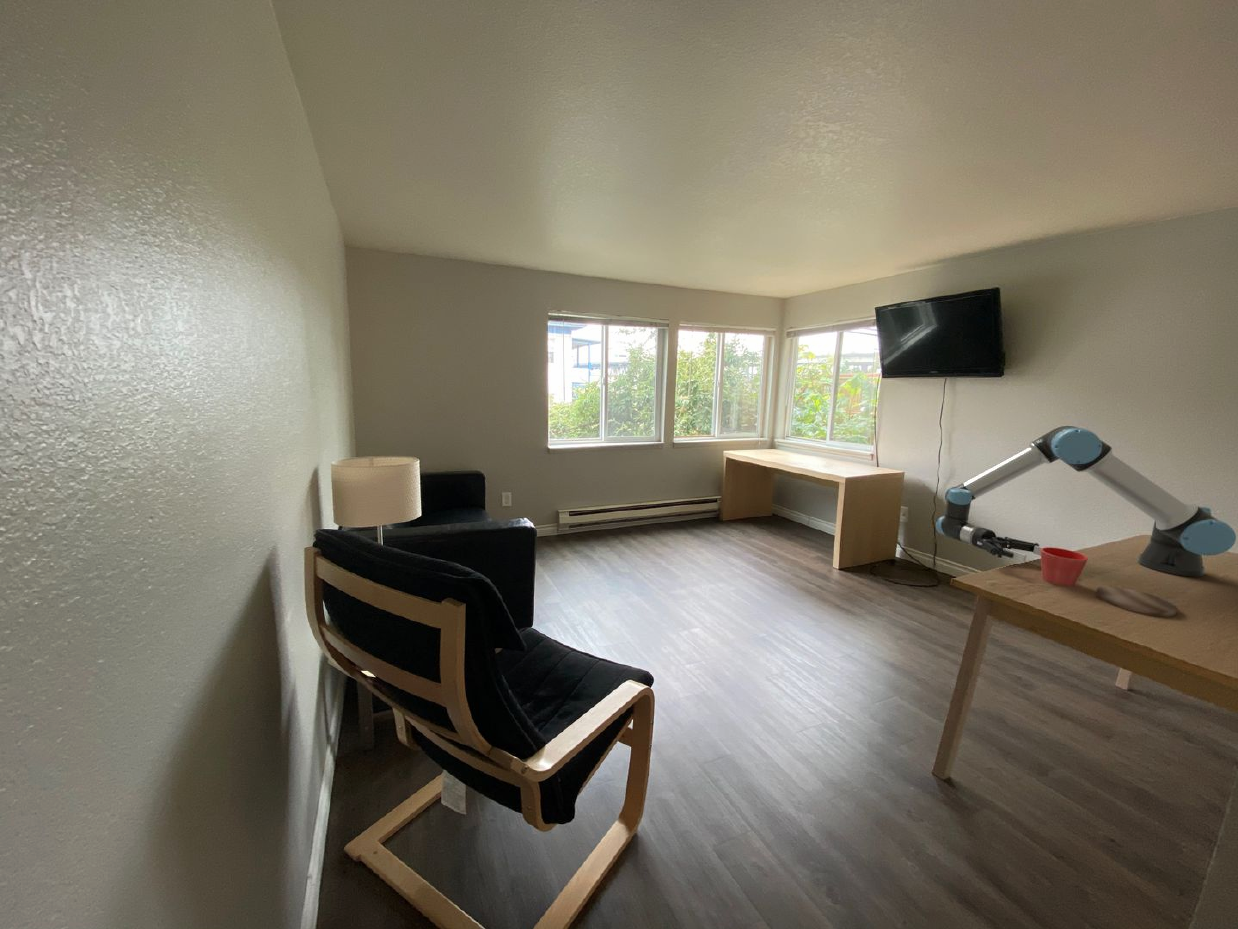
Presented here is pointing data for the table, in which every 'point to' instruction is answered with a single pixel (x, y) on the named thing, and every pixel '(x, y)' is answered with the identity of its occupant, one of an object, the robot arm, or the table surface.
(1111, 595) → the brown plate
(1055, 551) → the flower pot
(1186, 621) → the table surface
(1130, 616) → the table surface
